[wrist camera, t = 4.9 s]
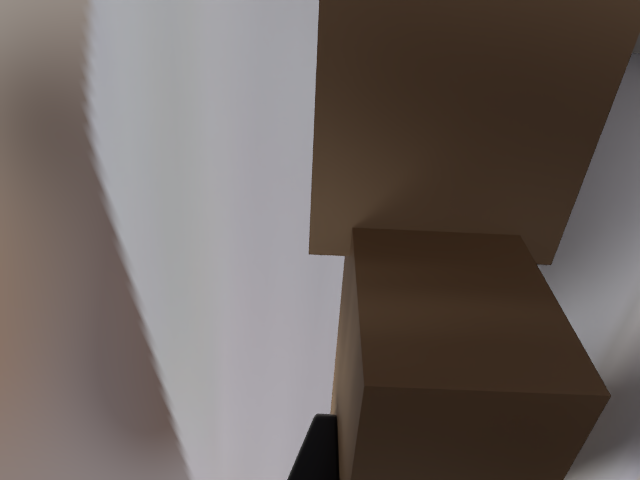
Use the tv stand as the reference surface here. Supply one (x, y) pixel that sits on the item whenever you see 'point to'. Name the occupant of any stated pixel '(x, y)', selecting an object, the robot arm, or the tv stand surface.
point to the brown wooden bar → (459, 227)
